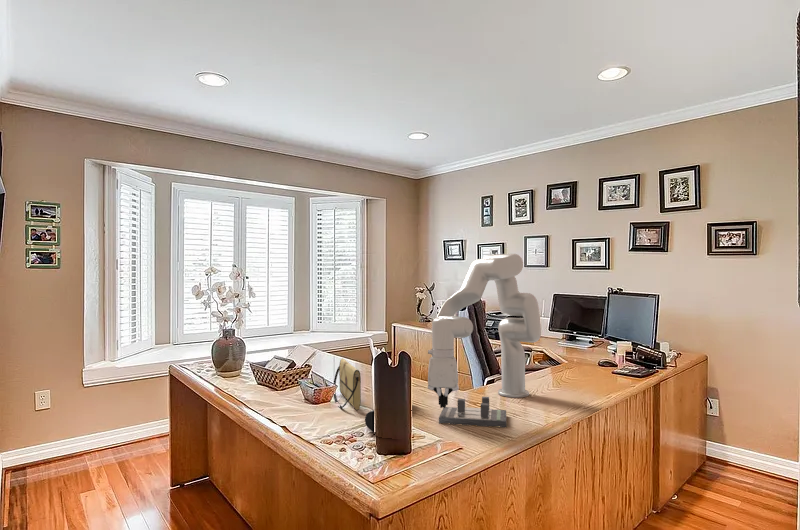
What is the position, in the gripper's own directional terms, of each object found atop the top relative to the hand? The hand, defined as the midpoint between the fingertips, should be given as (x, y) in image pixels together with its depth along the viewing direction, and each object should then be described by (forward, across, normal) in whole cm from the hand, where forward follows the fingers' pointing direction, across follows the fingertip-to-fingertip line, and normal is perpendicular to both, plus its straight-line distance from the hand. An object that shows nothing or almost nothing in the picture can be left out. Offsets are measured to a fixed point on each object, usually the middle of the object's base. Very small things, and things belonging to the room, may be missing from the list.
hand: (443, 406), depth 161 cm
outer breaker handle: (+1, +14, -4) cm, 15 cm away
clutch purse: (+4, -41, +13) cm, 43 cm away
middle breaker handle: (+1, +6, 0) cm, 6 cm away
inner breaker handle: (+1, +14, +5) cm, 15 cm away
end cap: (+4, -18, -15) cm, 24 cm away
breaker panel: (+4, +10, 0) cm, 11 cm away
